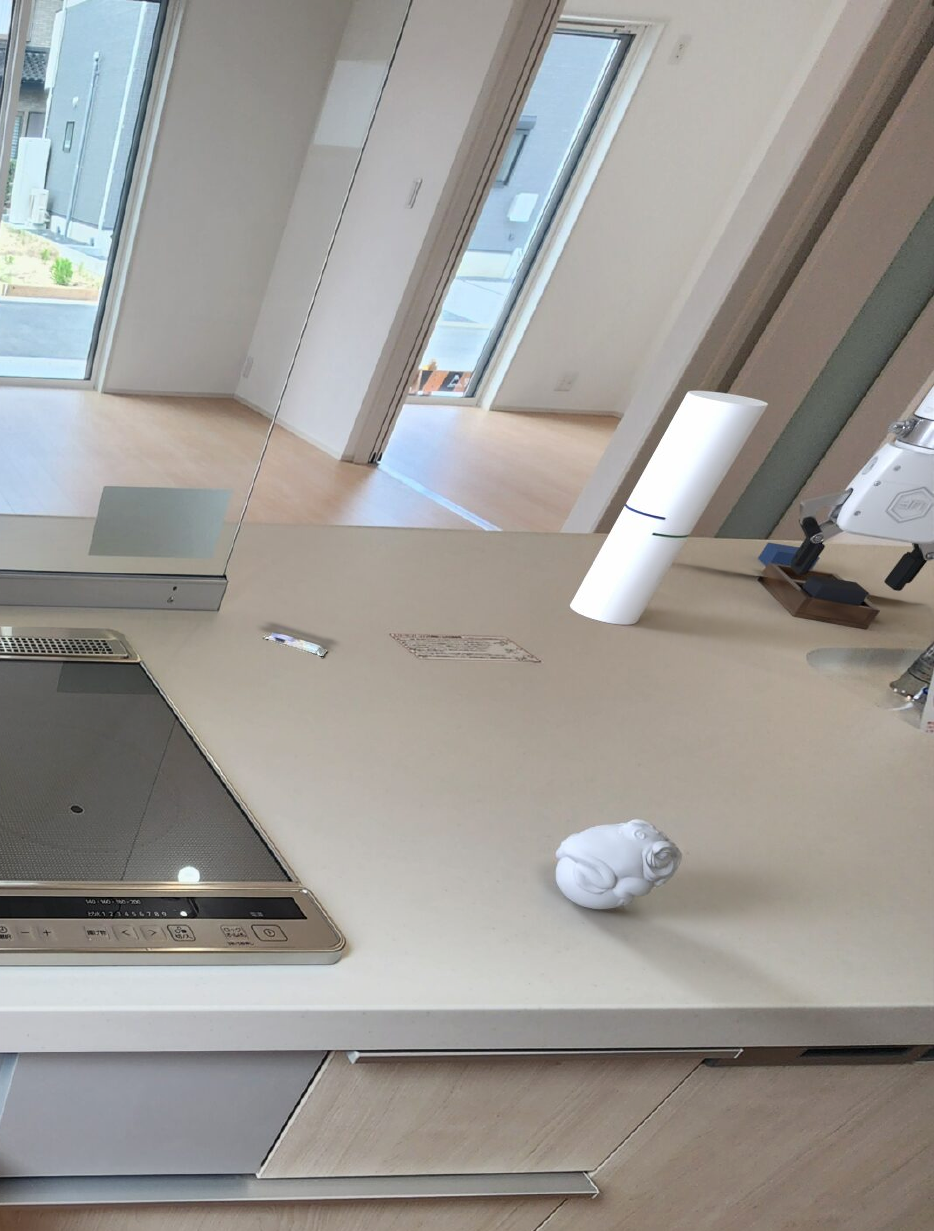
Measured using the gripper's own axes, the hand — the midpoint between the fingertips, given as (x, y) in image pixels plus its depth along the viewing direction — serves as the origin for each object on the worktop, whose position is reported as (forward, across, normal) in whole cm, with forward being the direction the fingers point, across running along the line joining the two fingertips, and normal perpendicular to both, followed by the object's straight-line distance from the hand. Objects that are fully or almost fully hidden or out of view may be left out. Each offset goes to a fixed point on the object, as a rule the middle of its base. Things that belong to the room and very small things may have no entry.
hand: (843, 579), depth 121 cm
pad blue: (+4, 0, +16) cm, 17 cm away
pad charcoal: (+4, 0, 0) cm, 4 cm away
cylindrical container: (+4, -27, -17) cm, 32 cm away
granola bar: (+5, -62, -49) cm, 79 cm away
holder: (+4, 0, +3) cm, 6 cm away
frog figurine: (+4, -40, -87) cm, 96 cm away
